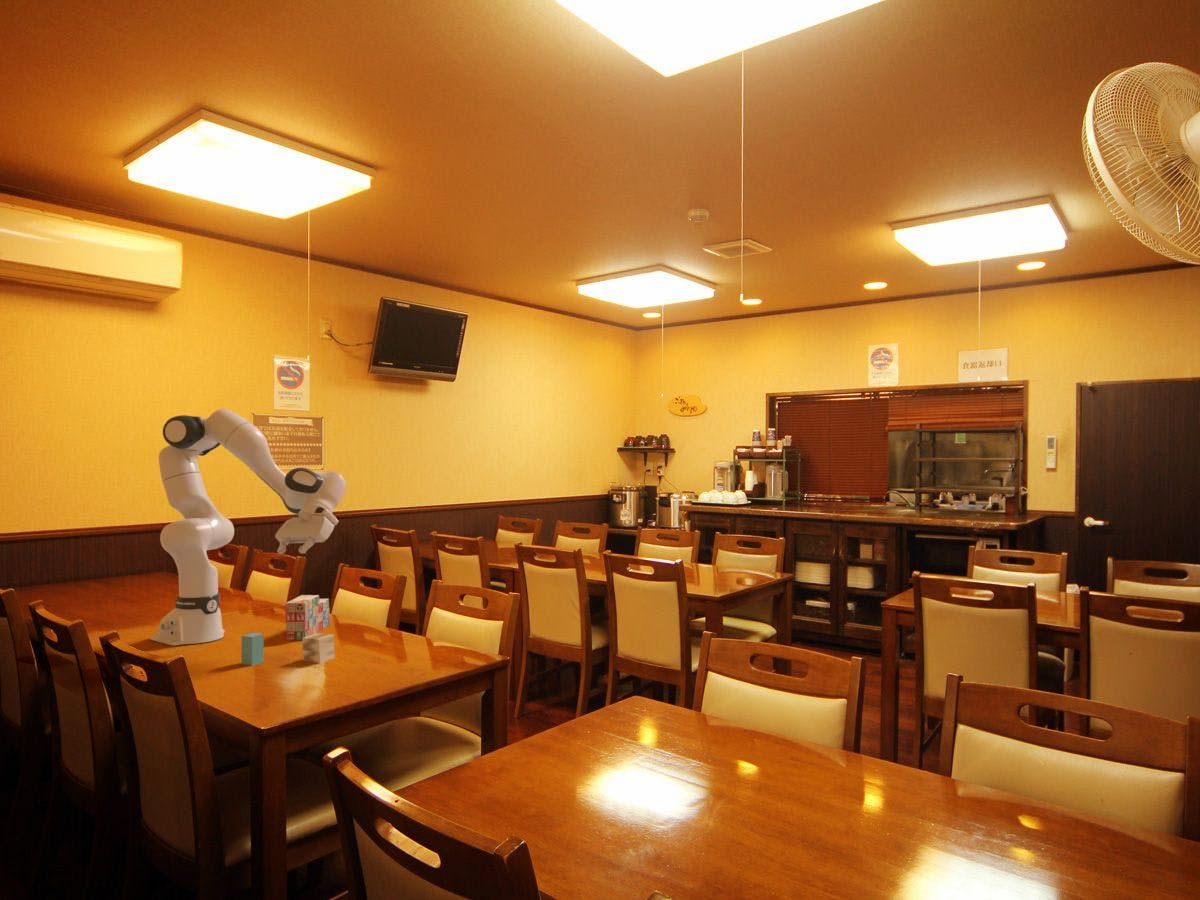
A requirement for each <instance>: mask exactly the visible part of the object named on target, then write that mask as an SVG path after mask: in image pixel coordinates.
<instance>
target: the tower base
mask: <svg viewBox="0 0 1200 900" xmlns="http://www.w3.org/2000/svg"><path fill="white" fill-rule="evenodd" d="M335 649H336V648H335V646H334V647H332V648H329V649H326V650H324V651H321V652H315V651H306V650H303V649H302V652H303V662H308V663H315V664H322V663H325V662H327V661H330V660H332V659H335V658H336V655H335V654H336V653H335V651H336V650H335Z"/></svg>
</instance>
